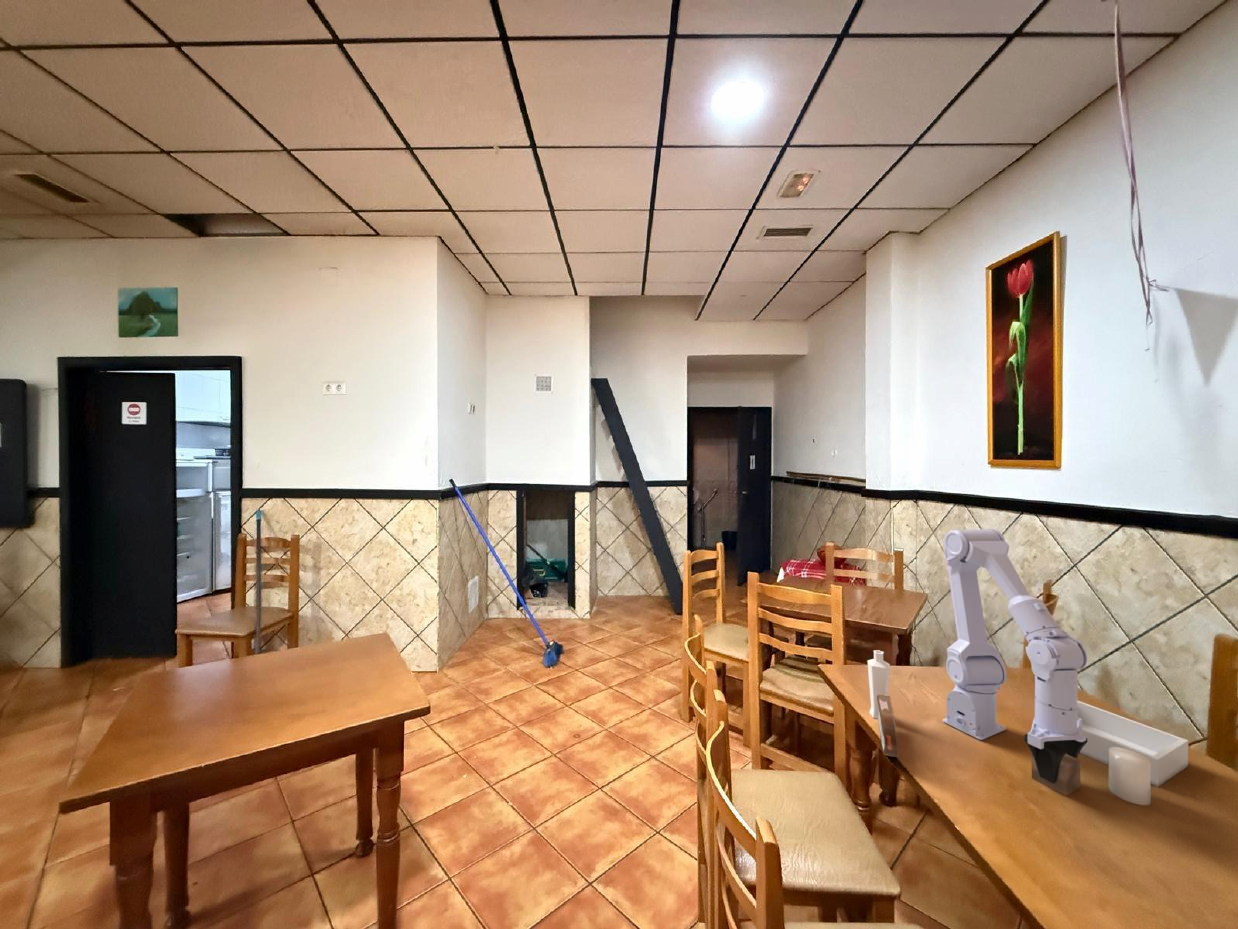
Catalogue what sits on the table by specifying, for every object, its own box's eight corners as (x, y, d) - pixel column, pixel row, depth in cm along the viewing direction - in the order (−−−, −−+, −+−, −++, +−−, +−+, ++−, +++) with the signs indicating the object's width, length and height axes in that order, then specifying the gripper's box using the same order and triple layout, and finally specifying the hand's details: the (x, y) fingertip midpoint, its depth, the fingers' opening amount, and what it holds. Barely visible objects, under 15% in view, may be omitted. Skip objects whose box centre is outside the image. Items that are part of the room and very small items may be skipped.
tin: (899, 767, 90) (899, 724, 90) (881, 763, 91) (881, 721, 91) (891, 726, 104) (891, 689, 103) (875, 723, 105) (875, 686, 105)
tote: (1157, 787, 84) (1157, 759, 84) (1037, 734, 100) (1037, 711, 100) (1188, 766, 89) (1188, 740, 89) (1070, 719, 105) (1070, 697, 105)
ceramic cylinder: (1143, 809, 79) (1143, 768, 79) (1103, 789, 83) (1103, 751, 83) (1156, 799, 81) (1156, 760, 81) (1116, 781, 85) (1116, 744, 85)
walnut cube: (1066, 796, 82) (1066, 768, 82) (1031, 778, 86) (1031, 752, 86) (1080, 787, 84) (1080, 760, 84) (1045, 770, 88) (1045, 745, 88)
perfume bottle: (870, 708, 111) (870, 646, 111) (891, 715, 108) (891, 651, 108) (864, 715, 108) (864, 651, 108) (885, 723, 105) (885, 657, 105)
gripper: (1063, 723, 78) (1063, 802, 79) (1104, 703, 84) (1104, 777, 84) (1013, 703, 85) (1013, 776, 85) (1055, 686, 91) (1055, 754, 91)
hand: (1055, 775), depth 85 cm, fingers closed on walnut cube, 5 cm apart
